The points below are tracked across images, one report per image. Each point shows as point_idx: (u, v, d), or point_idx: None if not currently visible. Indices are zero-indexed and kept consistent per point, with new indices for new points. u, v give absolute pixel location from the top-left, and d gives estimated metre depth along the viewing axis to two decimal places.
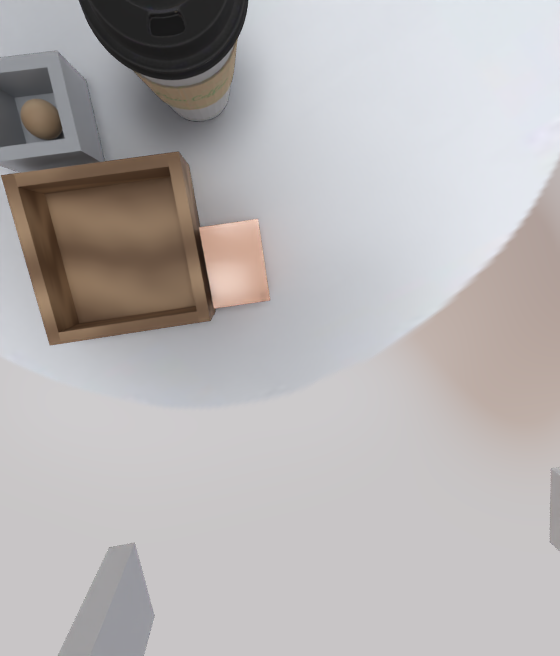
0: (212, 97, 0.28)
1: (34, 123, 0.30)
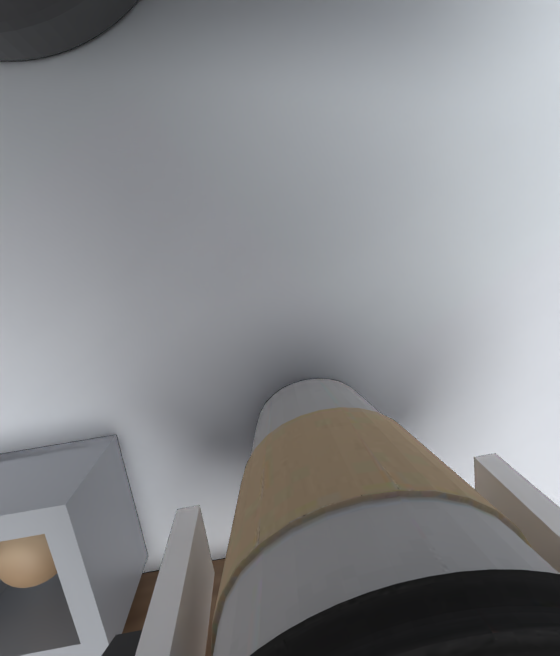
0: None
1: (19, 586, 0.15)
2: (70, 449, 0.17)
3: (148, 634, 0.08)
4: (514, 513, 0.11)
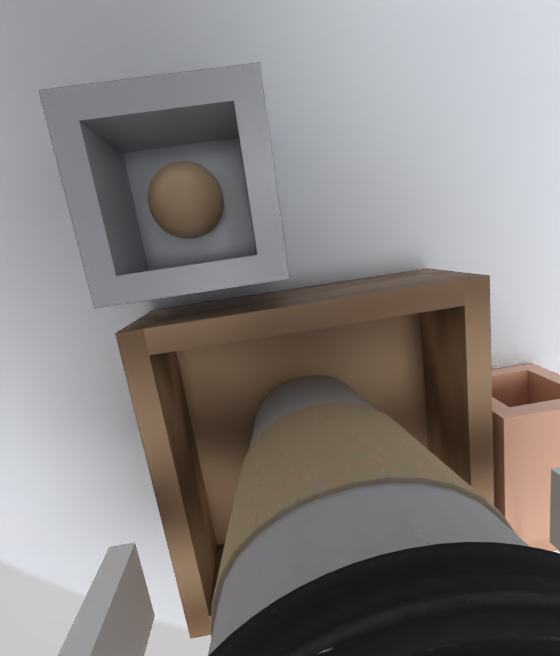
0: None
1: (181, 215, 0.14)
2: None
3: None
4: None
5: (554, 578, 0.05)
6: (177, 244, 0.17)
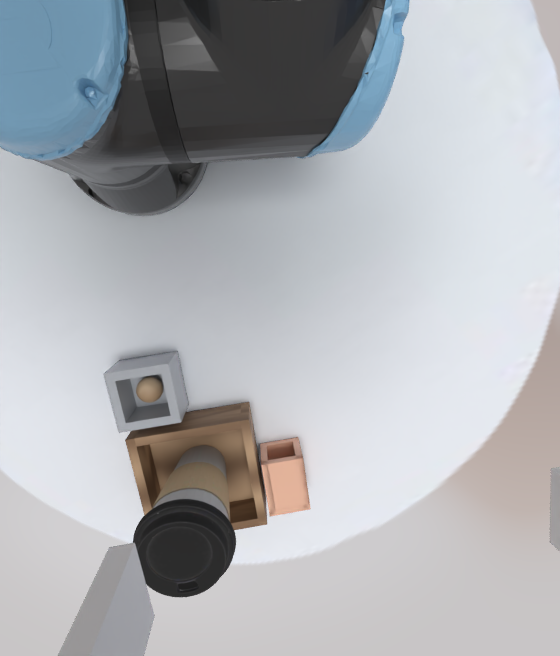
0: None
1: (147, 399, 0.42)
2: (160, 355, 0.45)
3: None
4: None
5: (196, 504, 0.34)
6: None
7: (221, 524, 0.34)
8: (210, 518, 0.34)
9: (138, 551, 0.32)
